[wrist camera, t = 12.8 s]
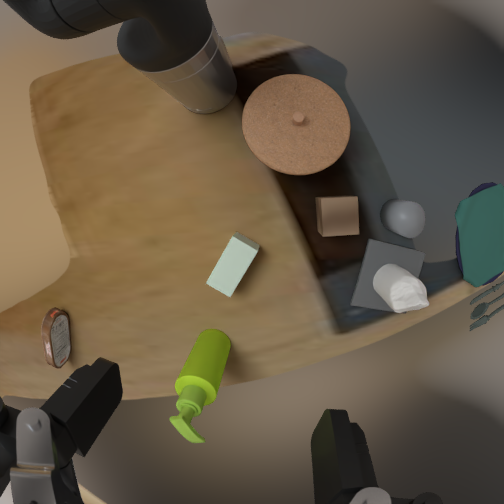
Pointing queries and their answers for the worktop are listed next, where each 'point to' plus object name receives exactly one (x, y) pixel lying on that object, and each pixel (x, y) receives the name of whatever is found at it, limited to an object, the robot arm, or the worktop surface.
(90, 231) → the worktop surface
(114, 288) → the worktop surface
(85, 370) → the robot arm
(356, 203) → the walnut cube
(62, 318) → the tin
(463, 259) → the teal place setting
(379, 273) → the white tall lump
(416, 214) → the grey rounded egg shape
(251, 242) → the sage bar
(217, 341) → the soap dispenser
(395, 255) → the mat
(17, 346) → the worktop surface
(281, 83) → the lidded bowl
